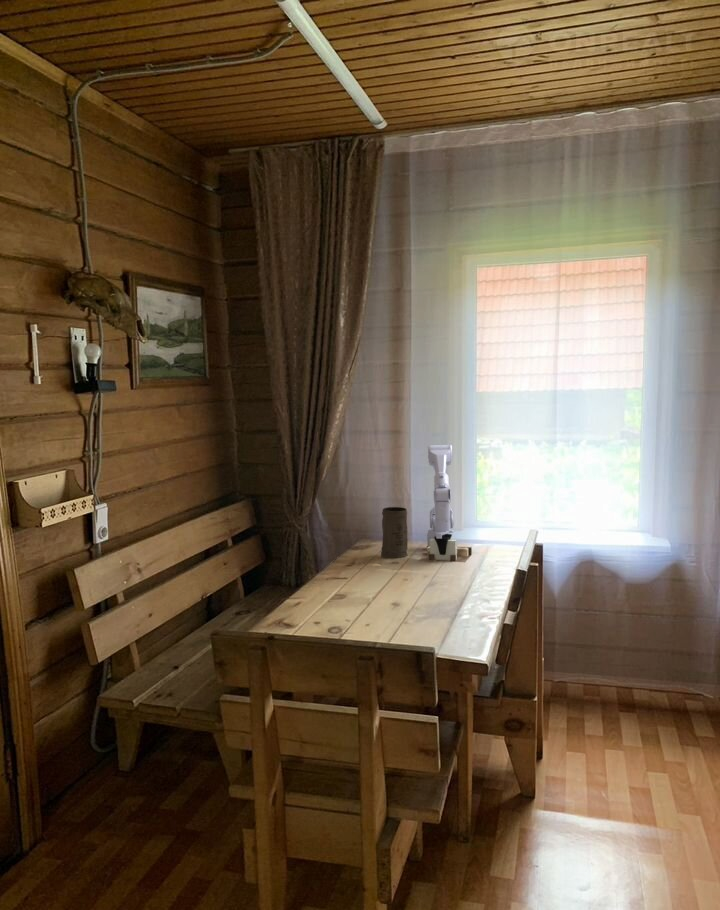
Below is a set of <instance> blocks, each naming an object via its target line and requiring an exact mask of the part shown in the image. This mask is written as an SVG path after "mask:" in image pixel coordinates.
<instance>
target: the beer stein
mask: <svg viewBox="0 0 720 910" xmlns="http://www.w3.org/2000/svg"><path fill="white" fill-rule="evenodd" d="M381 514H382V519H381V527H382V543H381V548H380V549H381V553H380V557H381V558H383V559H389V560H390V559H391V560H392V559H393V560H394V559H395V560H396V559H403V558H408V541H409V539H408V524H407V523H408V522H407V519H408V518H407V517H408V510H407V508H405V507H400V506H391V507H389V506H388V507H384V508H382V513H381Z"/></svg>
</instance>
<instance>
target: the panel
mask: <svg viewBox="0 0 720 910" xmlns="http://www.w3.org/2000/svg"><path fill="white" fill-rule="evenodd" d="M457 543H458V540H457V539H451V540H448V542H447V548H446V554H445V555H440V553H439V549H438V546H437V543H436V541H435V539H431V540H430V554H434V558H435V560H450V555H456V560H457V547H458V544H457Z"/></svg>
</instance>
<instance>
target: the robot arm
mask: <svg viewBox="0 0 720 910" xmlns="http://www.w3.org/2000/svg"><path fill="white" fill-rule="evenodd" d="M427 459H428V463H429V466H431V467H433V469H434V473H435V474H434V476H433V486H434V488H433V502H434V506H433V507H432V508H431V509H430V511H429V528H430V529H428V530H427V535H426V536H427V537H426V539H427V540H426V541H427V543H426V544H427V545H426V547H427V546H430V540H431V539H435V541H436V543H437V546H438V549H439V553H440V555H445V554H446V548H447V542H448V540H452V539H451V538H452V537H453V534H451V533H454V532H455V531H454V529H453V528H454V526H455V525H454V523H455V522H454V511H453V509H452V508H451V501H452V493H451V491H452V490H451V488H450V479H449V478H450V477H449V475H448V473H446V470H447V467H449V466H450V465H451V464H452V461H453V446H452V444H441V445H439V444H437V445H436V444H435V445H430V444H429V445H428V446H427Z"/></svg>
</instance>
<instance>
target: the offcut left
mask: <svg viewBox="0 0 720 910" xmlns="http://www.w3.org/2000/svg"><path fill="white" fill-rule="evenodd" d="M426 554H427V555H429V554H430V546H429V547H427V546H426Z"/></svg>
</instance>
